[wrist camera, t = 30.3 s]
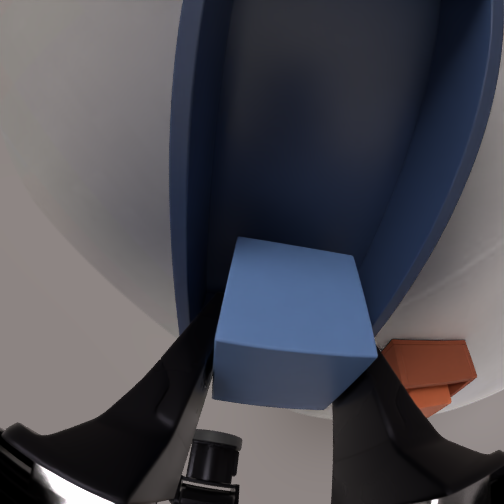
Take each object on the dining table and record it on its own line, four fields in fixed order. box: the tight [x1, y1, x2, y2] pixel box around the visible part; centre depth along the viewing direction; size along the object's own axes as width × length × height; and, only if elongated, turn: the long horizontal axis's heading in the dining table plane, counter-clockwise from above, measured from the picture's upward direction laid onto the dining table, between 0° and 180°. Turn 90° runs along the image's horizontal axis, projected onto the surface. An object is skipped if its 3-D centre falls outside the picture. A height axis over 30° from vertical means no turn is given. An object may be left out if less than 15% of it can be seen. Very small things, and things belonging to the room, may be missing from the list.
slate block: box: [212, 236, 378, 410], centre depth 9 cm, size 4×4×4 cm
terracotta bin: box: [381, 339, 477, 397], centre depth 16 cm, size 8×8×3 cm
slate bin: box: [169, 0, 504, 337], centre depth 7 cm, size 8×16×3 cm, turn 172°
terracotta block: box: [406, 384, 451, 418], centre depth 15 cm, size 4×4×4 cm
